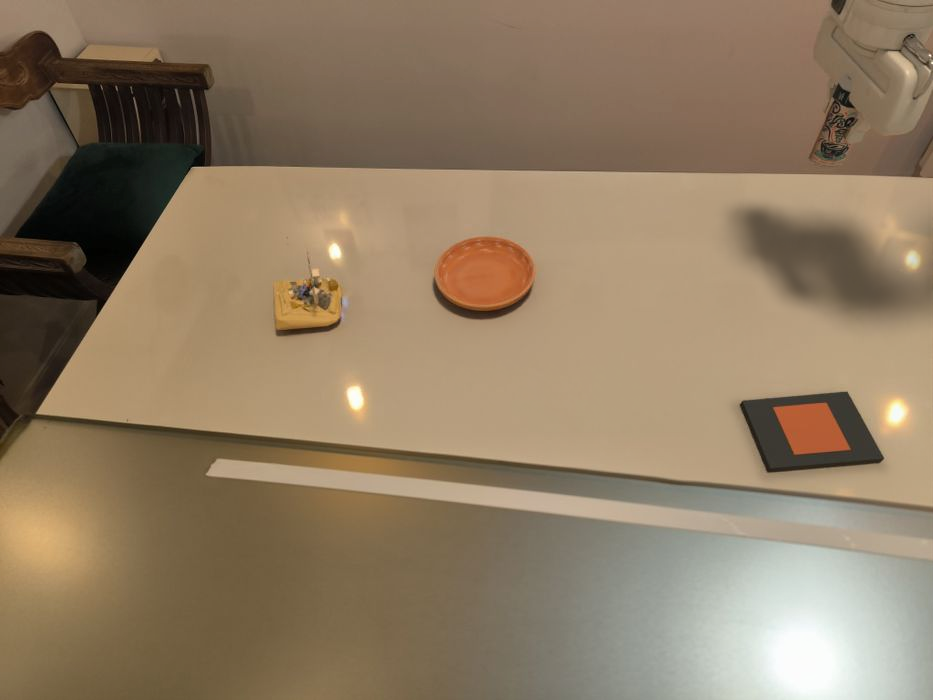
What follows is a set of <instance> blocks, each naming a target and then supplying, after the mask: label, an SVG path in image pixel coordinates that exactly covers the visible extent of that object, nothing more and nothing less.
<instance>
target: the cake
mask: <svg viewBox="0 0 933 700" xmlns="http://www.w3.org/2000/svg"><path fill="white" fill-rule="evenodd" d="M286 239H289V237H288V236H286ZM306 246H308V245H307V243H306ZM306 254H307V262H308V270H309V273H310V278H304V279H297V280H296V279H295V280H279V281H276V282H274V283H273V284H272V285H273V286H272V288H273V290H272V291H273V308H274V322H275V329H276V330H277V331H282V330H283V331H284V330H294V329H295V330H296V329H297V330H298V329H307V328H308V329H309V328H321V327H328V326H331V325H333V324H335V323H338V322H339V319H340V318H341V316H342V298H343V296H344V295H343V294H344V293H343V288H342V286H341V284H340V282H338V281H337V280H336V279H333V278H331V277H321V276H320V275H321V274H320V269H319V268H312V266H311V260H310V255H309V251H308V248H306Z"/></svg>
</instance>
